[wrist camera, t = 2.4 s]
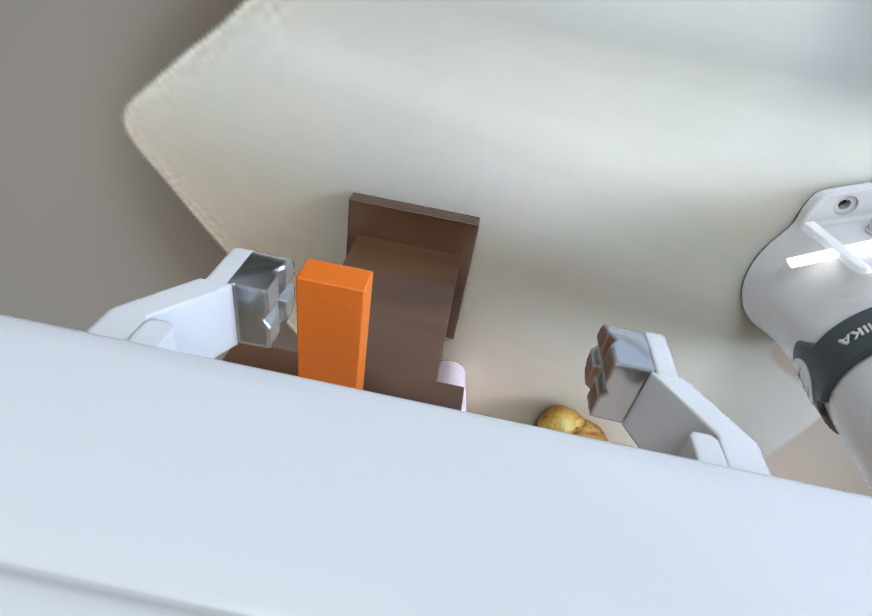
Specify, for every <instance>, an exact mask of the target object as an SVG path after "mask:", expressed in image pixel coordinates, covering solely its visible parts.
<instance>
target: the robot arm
mask: <svg viewBox="0 0 872 616" xmlns="http://www.w3.org/2000/svg"><path fill="white" fill-rule="evenodd" d="M843 200H846V202H845V203H844V204H842V205H839V203H840V202H841V201H843ZM294 274H295V267H294V262H293V260H292V259H287V258H283V257H279V256H274V255H270V254H265V253H261V252H257V251H256V252H255V251H252V250H247V249H242V248H238V247H237V248H233V249H232V250H231V251H230V252H229V253H228V255H227V256H226V257H225V258H224V259H223V260H222V261H221V263H220V264H219V265H218V266H217V267H216V268H215V269H214V270H213V271H212V273H211V274H210V275H209V276H208V277H207V278H206V279H200V278H199V279H196V280H194V281H190V282H187V283H185V284H182V285H178V286H175V287H173V288H170V289H167V290H164V291H161V292H158V293H155V294H152V295H149V296H146V297H143V298H140V299H137V300H134V301H131V302H128V303H125V304H122V305H119V306H116V307H113V308H111V309H110V310H108V312H106V313H105V314H104V315H103V316H102V317H101V318H100V319H99V320H98V321H97V322H96V323H95V324H94V325H92V326H91V327H90V328H89V329H88V330H87V331H86V332H84V331H79V330H74V329H70V328H65V327H60V326H55V325H50V324H45V323H41V322H36V321H31V320H27V319H22V318H17V317H12V316H7V315H3V314H0V616H872V497H870V496H865V495H860V494H856V493H851V492H846V491H841V490H837V489H831V488H827V487H822V486H817V485H812V484H808V483H803V482H798V481H793V480H789V479H784V478H779V477H774V476H771V474H770V472H769V469H768V467H767V465H766V462H765V460H764V458H763V456H762V453H761V451H760V449H759V446H758V444H757V443H756V442H755V441H754V440H753V439H751V438H750V437H749V436H748V435H747V434H746V433H745V432H744V431H742V430H741V429H740V428H739V427H738V426H737V425H736V424H735V423H733V422H732V421H731V420H730V419H729V418H728V417H727V416H726V415H725V414H723V413H722V412H721V411H720V410H719V409H718V408H717V407H716V406H714V405H713V404H712V403H711V402H710V401H709V400H708V399H707V398H705V397H704V396H703V395H702V394H701V393H700V392H699V391H698V390H697V389H695V388H694V387H693V386H692V385H691V384H690V383H689V382H688V381H686V380H685V379H683V378H679V377H678V374H677V371H676V368H675V365H674V362H673V359H672V356H671V353H670V350H669V347H668V345H667V342H666V339H665V337H664V336H663V335H661V334H655V333H649V332H644V331H643V332H641V331H636V330H631V329H626V328H620V327H615V326H610V325H605V324H604V325H603V326H602V327H601V329H600V331H599V333H598V335H597V339H598V345H597V346H596V347H594V348H592V349H591V351H590V353H589V356H588V358H587V362H586V367H585V384H586V385H587V386H588V387H589V388H590V391H589V393H588V395H587V399H588V406H589V414H590V416H594V417H598V418H603V419H607V420H611V421H615V422H620V423H623V424H622V425H623V426H624V428H625V429H626V431H627V432H628V433H629V435H630V436H631V437H632V439H633V440H634V442H635V443H636V444H637V446H638V447H639V448H637V447H632V446H627V445H622V444H618V443H613V442H608V441H603V440H599V439H594V438H589V437H584V436H579V435H575V434H570V433H565V432H560V431H556V430H551V429H546V428H541V427H537V426H532V425H527V424H522V423H517V422H513V421H508V420H503V419H498V418H494V417H489V416H484V415H479V414H474V413H470V412H465V411H460V410H455V409H451V408H446V407H441V406H436V405H432V404H427V403H422V402H417V401H413V400H408V399H403V398H398V397H394V396H389V395H384V394H379V393H374V392H370V391H365V390H360V389H355V388H351V387H346V386H341V385H336V384H332V383H327V382H322V381H317V380H313V379H308V378H303V377H298V376H294V375H289V374H284V373H279V372H274V371H270V370H265V369H260V368H255V367H251V366H246V365H241V364H236V363H232V362H227V361H222V360H217V359H214V358H216V357H217V356H219V355H220V354H222V353H224V352H226V351H227V350H229V349H231V348H232V347H234V346H236V345H238V343H242V344H248V345H253V346H259V347H264V348H271V347H272V345H273V343H274V342H275V340H276V338H277V337H278V335H279V334H280V324H282V323H284V322H286V321H287V320H288V318H289V316H290V314H291V312H292V308H293V305H294V299H295V287H294V286H293V284H292V283H291V279H292V277H293V276H294ZM742 302H743V307H744V309H745V312H746V314H747V316H748V317H749V319H750V320H751V321H752V322H753V323H754V324H755V325H756V326H757V327H758V328H760V329H761V330H762V331H764V332H765V333H766V334H767V335H769V336H770V337H771V338H772V339H773V340H774V341H775V342H776V343H777V344H778V345H779V346H780V347H781V348H782V350H783V351H784V352H785V353H786V354H787V356H788V357H789V358H790V359H791V361H792V362H793V366H794V370H795V373H796V376H797V378H798V380H799V382H800V384H801V386H802V387H803V389H804V391H805V393H806V395H807V396H808V398H809V400H810V402H811V403H812V405H814V406H815V407H816V409H817V410H818V412H819V413H820V415H821V417H822V418H823V420H824V421H825V423H826V424H827V425H828V426H829V427H830V429H832V430H833V431H834V432H835V433H837V434H839V435H840V437H841V438H842V440H843V442H844V444H845V445H846V447H847V449H848V450H849V452H850V454H851V456H852V457H853V459H854V461H855V463H856V464H857V466H858V468H859V469H860V471H861V473H862V475H863V476H864V478H865V480H866V482H867V483H868V485H869V487H870V488H871V490H872V182H868V183H861V184H855V185H848V186H841V187H835V188H828V189H824V190H821V191H819V192H817V193H816V194H814V195H813V196H812V197H811V198H810V199H809V200H808V201H807V202H806V204H805V205H804V207H803V208H802V210H801V211H800V213H799V214H798V216H797V218H796V219H795V221H794V223H793V224H792V225H791V226H790V227H789V228H788V229H786V230H785V231H784V232H783V233H782V234H780V235H779V236H778V237H777V238H776V239H774V240H773V241H772V242H771V243H770V244H769V245H768V246H766V248H765V249H764V250H763V251H762V252H761V253H760V254H759V255H758V256H757V258H756V259H755V260H754V262H753V263H752V265H751V267H750V268H749V270H748V272H747V275H746V277H745V280H744V283H743V288H742Z"/></svg>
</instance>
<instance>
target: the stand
mask: <svg viewBox="0 0 872 616" xmlns="http://www.w3.org/2000/svg"><path fill="white" fill-rule="evenodd" d="M479 221H480V218H479V217H474V216H469V215H464V214H459V213H454V212H449V211H444V210H439V209H434V208H429V207H424V206H419V205H414V204H409V203H404V202H399V201H394V200H389V199H384V198H379V197H374V196H369V195H364V194H359V193H353V194H352V196H351V198H350V199H349V217H348V237H347V257H346V259H345V261H344V263H343V265H345V266H349V267H354V268H359V269H364V270H369V271H372V272H373V282H372V293H371V304H370V316H369V327H368V338H367V350H366V361H365V372H364V384H363V390H365V391H370V392H374V393H379V394H384V395H389V396H394V397H398V398H403V399H408V400H413V401H417V402H422V403H427V404H432V405H436V406H441V407H446V408H451V409H455V410H460V411H461V409H462V402H463V394H464V387H461V386H456V385H452V384H447V383H442V382H437V377H438V372H439V367H440V362H441V357H442V352H443V346H444V341H445V337H447V338H452V339H453V338H454V333H455V329H456V324H457V320H458V315H459V311H460V307H461V302H462V298H463V293H464V289H465V284H466V280H467V275H468V271H469V267H470V262H471V258H472V253H473V249H474V244H475V240H476V235H477V231H478V226H479ZM222 361H227V362H232V363H236V364H241V365H246V366H251V367H255V368H260V369H265V370H270V371H274V372H279V373H284V374H289V375H294V376H298V352H292V351H288V350H283V349H278V348H273V347H271V348H264V347H259V346H253V345H248V344H242V343H238V345H236V346H234V347H232V348H231V349H230V350H229V352H228V353H227V355H226V356H225V358H224V359H223V360H222Z"/></svg>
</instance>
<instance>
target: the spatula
mask: <svg viewBox="0 0 872 616" xmlns="http://www.w3.org/2000/svg"><path fill="white" fill-rule="evenodd" d="M372 282H373V272H372V271H369V270H364V269H359V268H354V267H349V266H345V265H340V264H335V263H330V262H325V261H320V260H315V259H310V258H309V259H307V261H306V263H305V264H304V266H303V267H302V269H301V271H300V272H299V274H298V276H297V277H296V294H297V337H298V377H303V378H308V379H313V380H317V381H322V382H327V383H332V384H336V385H341V386H346V387H351V388H355V389H360V390H363V384H364V372H365V361H366V350H367V338H368V327H369V316H370V304H371V293H372Z"/></svg>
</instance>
